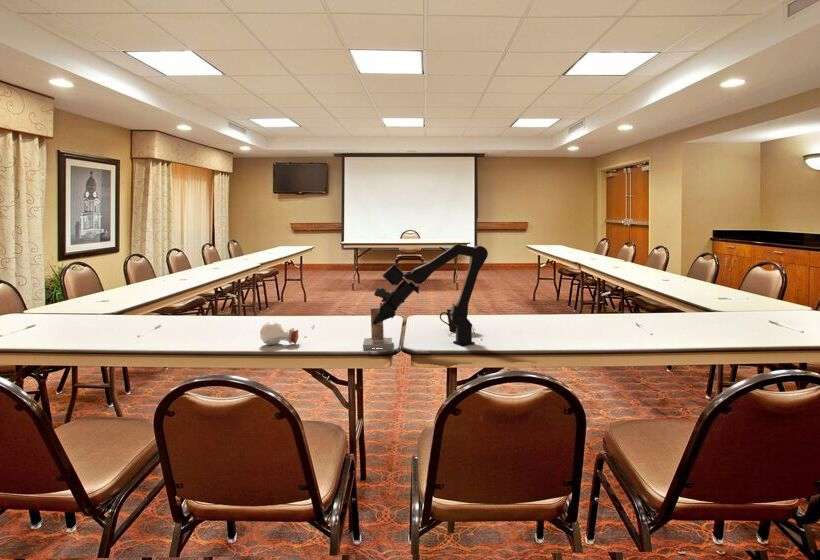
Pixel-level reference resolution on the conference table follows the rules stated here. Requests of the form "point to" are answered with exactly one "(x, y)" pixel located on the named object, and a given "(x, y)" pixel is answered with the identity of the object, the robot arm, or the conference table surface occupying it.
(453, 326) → the coffee mug
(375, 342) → the slate slab
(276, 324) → the potion bottle
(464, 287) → the robot arm
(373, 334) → the walnut block
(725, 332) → the conference table surface
